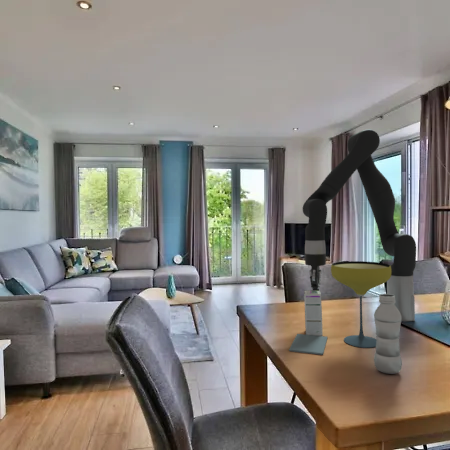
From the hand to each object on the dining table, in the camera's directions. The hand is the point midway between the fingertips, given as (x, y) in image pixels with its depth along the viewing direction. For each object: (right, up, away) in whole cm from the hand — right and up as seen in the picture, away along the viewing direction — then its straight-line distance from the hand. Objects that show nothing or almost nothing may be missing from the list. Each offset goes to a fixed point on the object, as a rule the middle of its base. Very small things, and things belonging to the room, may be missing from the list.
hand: (315, 298), depth 131 cm
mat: (-7, -11, -19) cm, 23 cm away
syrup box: (-3, -11, -9) cm, 14 cm away
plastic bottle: (+8, -11, -40) cm, 42 cm away
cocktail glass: (+10, -10, -18) cm, 23 cm away
